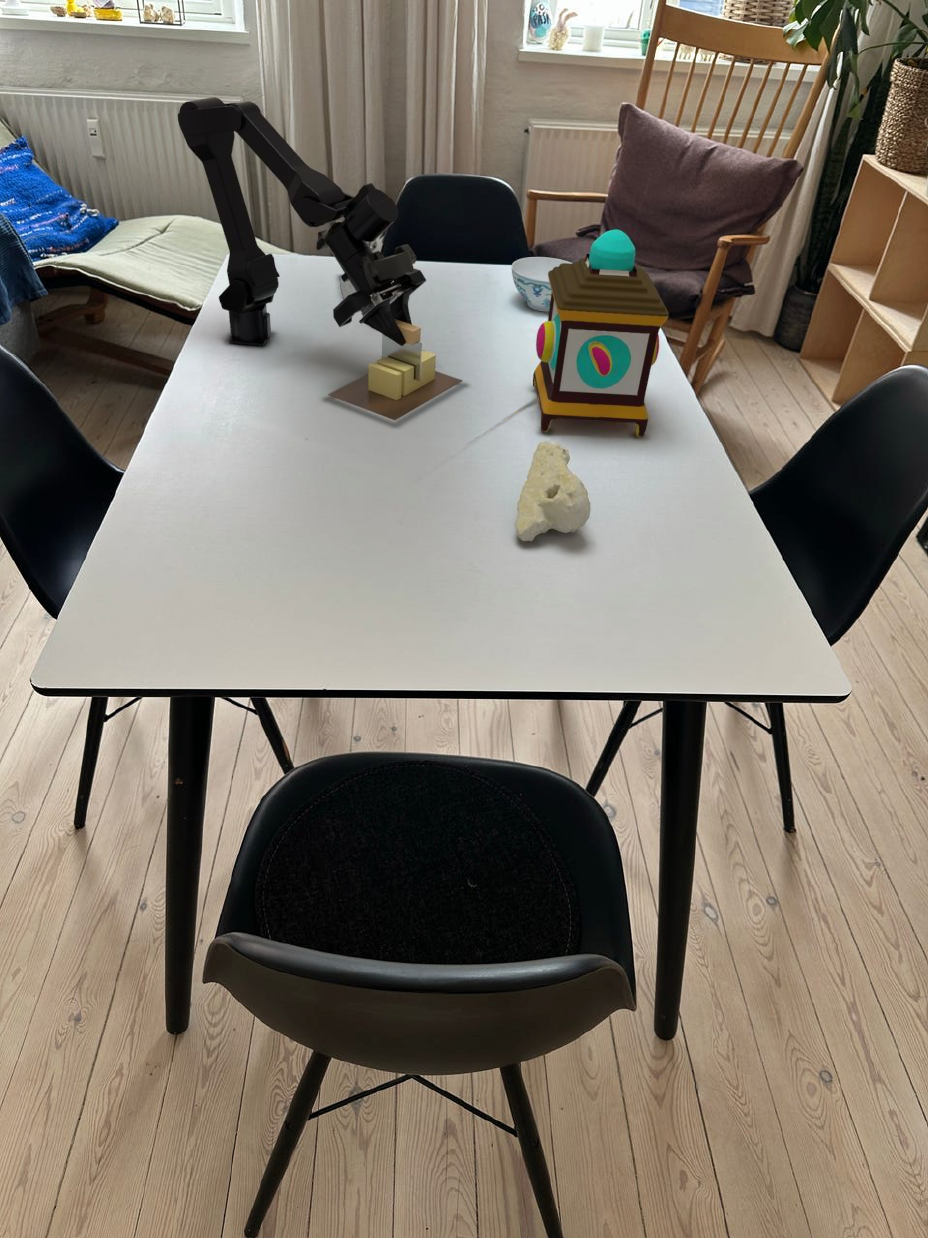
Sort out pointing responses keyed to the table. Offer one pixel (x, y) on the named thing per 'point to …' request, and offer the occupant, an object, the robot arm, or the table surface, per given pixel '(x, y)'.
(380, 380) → the butter slice
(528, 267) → the chinaware
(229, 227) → the robot arm
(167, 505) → the table surface
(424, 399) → the board
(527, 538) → the cream rough rock
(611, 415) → the decorative lantern
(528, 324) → the table surface
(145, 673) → the table surface
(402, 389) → the butter block
